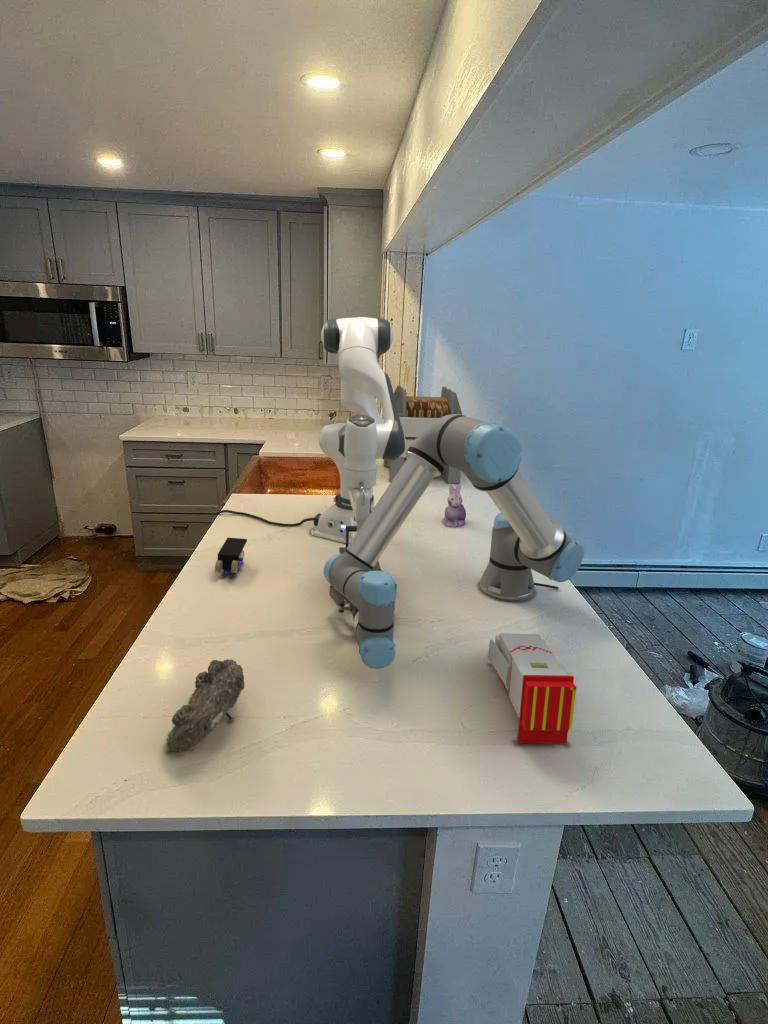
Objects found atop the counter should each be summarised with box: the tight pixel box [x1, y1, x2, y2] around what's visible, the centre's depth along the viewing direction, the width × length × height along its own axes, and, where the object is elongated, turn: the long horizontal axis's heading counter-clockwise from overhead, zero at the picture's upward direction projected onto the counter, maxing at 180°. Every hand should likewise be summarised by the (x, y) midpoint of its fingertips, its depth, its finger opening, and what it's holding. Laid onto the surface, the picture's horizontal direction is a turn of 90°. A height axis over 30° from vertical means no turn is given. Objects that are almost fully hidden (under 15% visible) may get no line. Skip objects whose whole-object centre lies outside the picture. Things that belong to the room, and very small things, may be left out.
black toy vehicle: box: [214, 537, 248, 578], centre depth 166 cm, size 7×8×15 cm
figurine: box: [443, 483, 467, 528], centre depth 210 cm, size 9×10×15 cm
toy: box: [487, 632, 577, 744], centre depth 116 cm, size 12×13×30 cm
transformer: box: [383, 384, 463, 484], centre depth 268 cm, size 34×33×41 cm
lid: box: [338, 526, 382, 571], centre depth 153 cm, size 15×10×9 cm, turn 8°
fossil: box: [166, 658, 245, 754], centre depth 106 cm, size 22×10×15 cm
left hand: (358, 526), depth 156 cm, fingers open, 8 cm apart
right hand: (360, 576), depth 152 cm, fingers closed on chest, 10 cm apart
